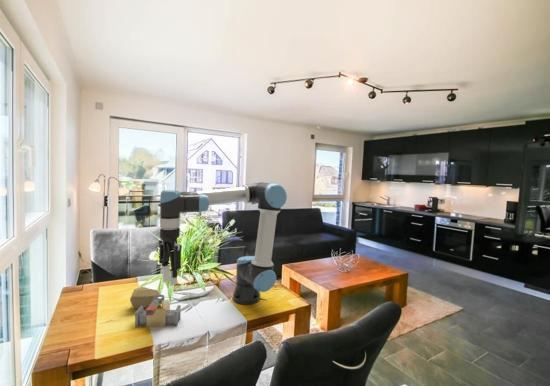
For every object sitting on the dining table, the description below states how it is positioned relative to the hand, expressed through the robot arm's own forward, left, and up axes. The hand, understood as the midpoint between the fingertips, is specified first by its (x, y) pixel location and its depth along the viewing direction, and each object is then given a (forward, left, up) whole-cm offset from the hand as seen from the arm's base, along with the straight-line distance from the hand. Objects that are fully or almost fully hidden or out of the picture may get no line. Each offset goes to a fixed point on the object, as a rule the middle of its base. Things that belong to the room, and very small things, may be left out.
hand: (169, 282), depth 115 cm
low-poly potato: (+18, -25, -23) cm, 39 cm away
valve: (+8, -10, -23) cm, 26 cm away
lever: (+8, -5, -13) cm, 16 cm away
